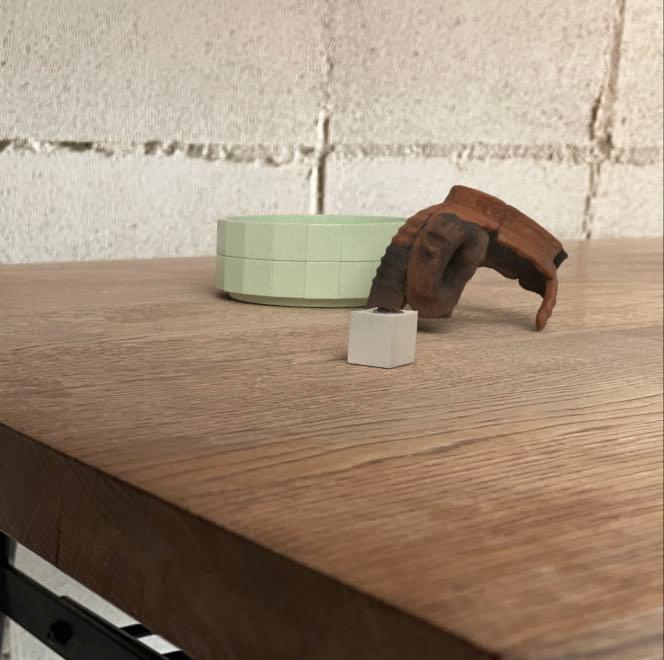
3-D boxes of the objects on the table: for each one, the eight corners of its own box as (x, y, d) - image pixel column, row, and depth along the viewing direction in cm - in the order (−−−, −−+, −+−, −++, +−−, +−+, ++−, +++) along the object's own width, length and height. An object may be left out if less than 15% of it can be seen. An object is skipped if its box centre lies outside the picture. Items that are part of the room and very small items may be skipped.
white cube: (371, 357, 51) (376, 301, 51) (413, 363, 50) (419, 306, 49) (346, 362, 50) (351, 305, 49) (389, 368, 49) (394, 309, 48)
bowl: (328, 283, 83) (332, 213, 82) (461, 301, 72) (468, 220, 71) (178, 292, 77) (179, 216, 75) (297, 314, 66) (302, 226, 65)
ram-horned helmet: (366, 318, 68) (446, 195, 66) (503, 402, 65) (590, 275, 63) (321, 284, 57) (416, 134, 55) (484, 382, 54) (590, 228, 52)
